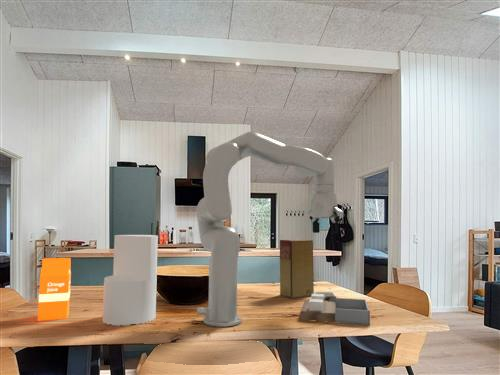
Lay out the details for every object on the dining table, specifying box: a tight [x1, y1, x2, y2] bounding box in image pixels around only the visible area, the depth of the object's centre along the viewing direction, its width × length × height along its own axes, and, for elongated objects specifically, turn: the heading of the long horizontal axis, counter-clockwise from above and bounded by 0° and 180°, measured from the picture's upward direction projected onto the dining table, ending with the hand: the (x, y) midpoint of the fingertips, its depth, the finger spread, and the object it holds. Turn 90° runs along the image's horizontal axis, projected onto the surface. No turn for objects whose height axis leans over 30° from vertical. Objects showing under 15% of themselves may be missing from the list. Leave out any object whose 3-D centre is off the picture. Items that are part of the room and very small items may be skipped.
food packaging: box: [279, 239, 315, 299], centre depth 170 cm, size 13×9×25 cm
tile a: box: [310, 294, 325, 305], centre depth 139 cm, size 4×4×3 cm
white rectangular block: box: [309, 298, 323, 311], centre depth 129 cm, size 4×4×3 cm
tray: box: [335, 297, 371, 326], centre depth 131 cm, size 11×18×4 cm, turn 167°
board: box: [300, 299, 336, 323], centre depth 134 cm, size 12×18×3 cm, turn 167°
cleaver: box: [314, 291, 338, 302], centre depth 160 cm, size 30×10×2 cm, turn 174°
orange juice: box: [37, 257, 72, 322], centre depth 129 cm, size 8×9×20 cm
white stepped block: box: [102, 234, 159, 326], centre depth 128 cm, size 17×17×28 cm
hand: (325, 233), depth 146 cm, fingers open, 9 cm apart
